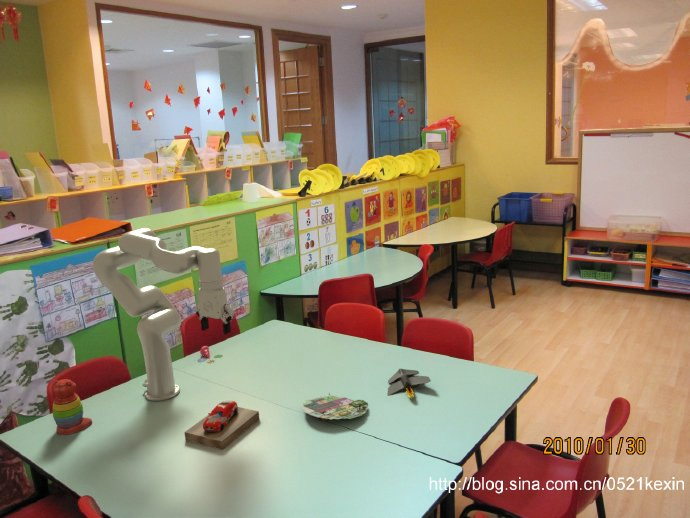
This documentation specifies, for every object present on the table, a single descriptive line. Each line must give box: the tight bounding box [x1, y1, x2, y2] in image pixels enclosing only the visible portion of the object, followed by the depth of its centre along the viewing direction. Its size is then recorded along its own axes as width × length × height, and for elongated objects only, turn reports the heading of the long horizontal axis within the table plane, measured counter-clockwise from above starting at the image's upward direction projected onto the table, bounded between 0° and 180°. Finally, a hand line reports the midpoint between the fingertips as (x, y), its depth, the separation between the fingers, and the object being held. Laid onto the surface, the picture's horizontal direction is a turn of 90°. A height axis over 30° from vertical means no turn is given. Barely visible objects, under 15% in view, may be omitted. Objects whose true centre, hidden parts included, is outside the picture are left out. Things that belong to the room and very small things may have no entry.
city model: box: [301, 392, 369, 423], centre depth 199 cm, size 25×23×6 cm
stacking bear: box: [52, 378, 93, 436], centre depth 197 cm, size 11×10×18 cm
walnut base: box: [184, 406, 260, 451], centre depth 192 cm, size 15×20×3 cm
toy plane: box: [387, 368, 432, 399], centre depth 215 cm, size 25×17×5 cm
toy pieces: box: [197, 345, 223, 364], centre depth 251 cm, size 12×11×4 cm
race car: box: [203, 400, 239, 432], centre depth 191 cm, size 16×7×5 cm, turn 163°
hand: (216, 331), depth 203 cm, fingers open, 9 cm apart
